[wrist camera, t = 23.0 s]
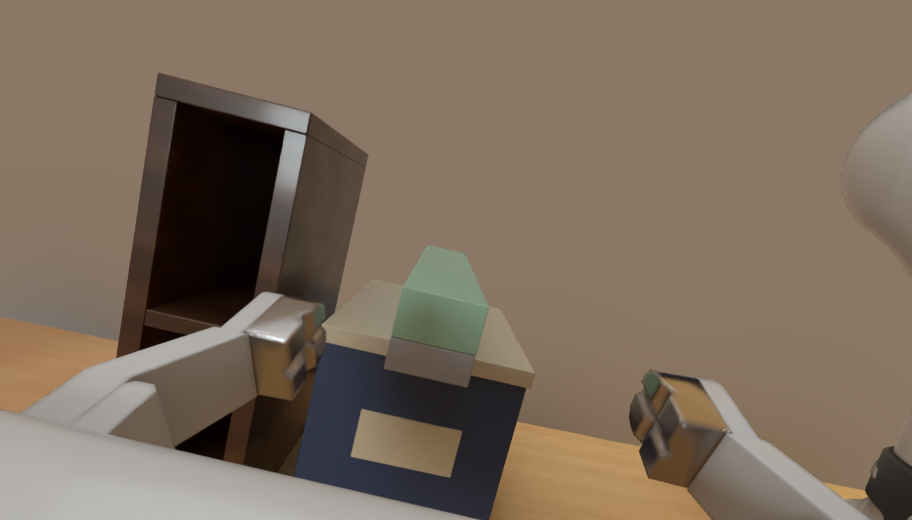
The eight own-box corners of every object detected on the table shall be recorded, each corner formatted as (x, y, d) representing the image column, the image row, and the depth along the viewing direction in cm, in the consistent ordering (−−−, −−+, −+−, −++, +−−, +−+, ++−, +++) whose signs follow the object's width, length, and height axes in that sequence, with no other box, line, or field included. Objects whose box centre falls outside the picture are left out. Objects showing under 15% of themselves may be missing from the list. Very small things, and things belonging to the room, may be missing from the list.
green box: (467, 388, 17) (489, 306, 17) (383, 369, 17) (402, 286, 17) (456, 290, 39) (465, 253, 39) (419, 281, 39) (427, 244, 38)
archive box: (471, 598, 23) (535, 373, 21) (271, 558, 22) (321, 323, 21) (462, 450, 37) (500, 309, 36) (340, 424, 37) (373, 278, 35)
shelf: (227, 546, 22) (311, 111, 19) (91, 520, 22) (157, 71, 19) (311, 419, 36) (368, 154, 33) (229, 401, 36) (280, 131, 33)
